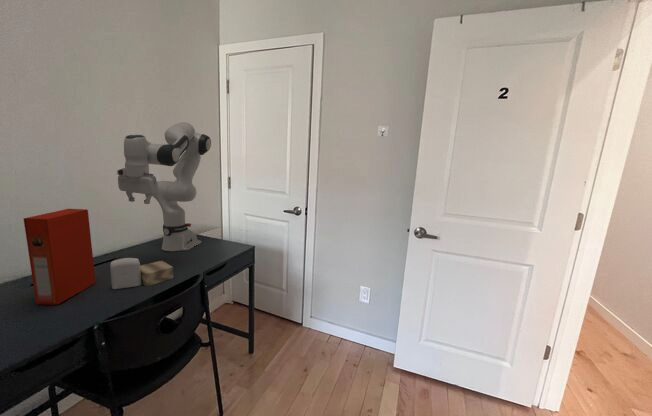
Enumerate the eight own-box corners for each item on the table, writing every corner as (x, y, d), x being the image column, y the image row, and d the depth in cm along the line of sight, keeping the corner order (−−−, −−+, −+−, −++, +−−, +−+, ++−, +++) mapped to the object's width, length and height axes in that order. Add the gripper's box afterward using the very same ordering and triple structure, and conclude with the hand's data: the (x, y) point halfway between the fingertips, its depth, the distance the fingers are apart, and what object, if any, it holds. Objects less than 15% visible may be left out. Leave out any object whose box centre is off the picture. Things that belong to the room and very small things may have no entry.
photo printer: (110, 290, 113) (108, 261, 111) (112, 285, 117) (110, 258, 115) (140, 286, 118) (139, 259, 116) (142, 282, 122) (140, 255, 119)
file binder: (35, 304, 101) (23, 217, 95) (75, 282, 118) (67, 208, 112) (58, 304, 101) (47, 219, 95) (95, 283, 118) (88, 209, 112)
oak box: (162, 272, 133) (161, 260, 132) (173, 279, 127) (173, 266, 126) (136, 279, 124) (135, 266, 123) (146, 287, 118) (146, 274, 117)
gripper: (161, 173, 124) (162, 204, 126) (127, 170, 130) (130, 199, 133) (148, 174, 118) (150, 206, 121) (114, 170, 124) (116, 201, 127)
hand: (139, 202), depth 127 cm, fingers open, 8 cm apart
